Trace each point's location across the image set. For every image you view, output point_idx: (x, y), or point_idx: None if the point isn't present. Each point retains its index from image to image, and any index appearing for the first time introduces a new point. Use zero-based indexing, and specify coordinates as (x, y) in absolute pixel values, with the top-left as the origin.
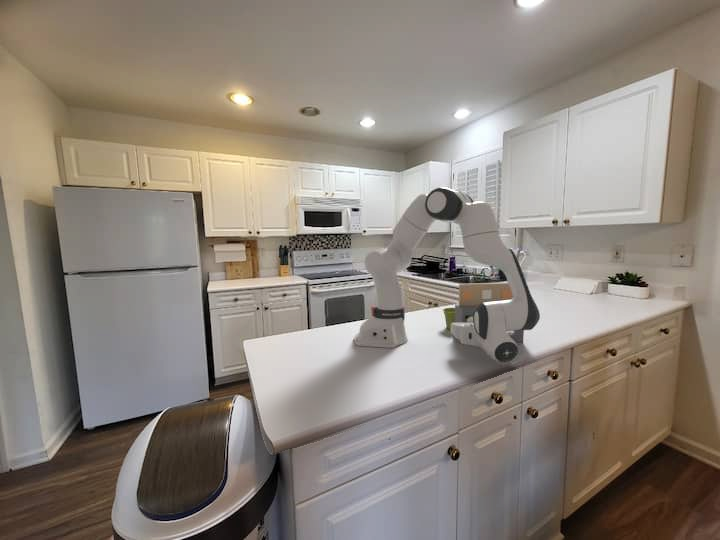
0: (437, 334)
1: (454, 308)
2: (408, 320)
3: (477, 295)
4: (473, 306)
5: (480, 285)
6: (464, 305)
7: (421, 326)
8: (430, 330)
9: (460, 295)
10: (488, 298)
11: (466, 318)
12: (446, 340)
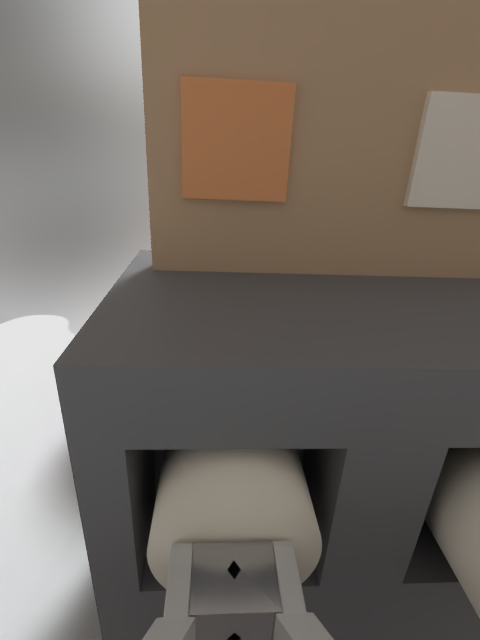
0: (46, 460)
1: None
2: (32, 317)
3: (359, 160)
4: (294, 290)
5: (418, 14)
6: (205, 271)
7: (40, 364)
8: (48, 406)
9: (156, 146)
10: (474, 205)
11: (168, 460)
12: (26, 581)
